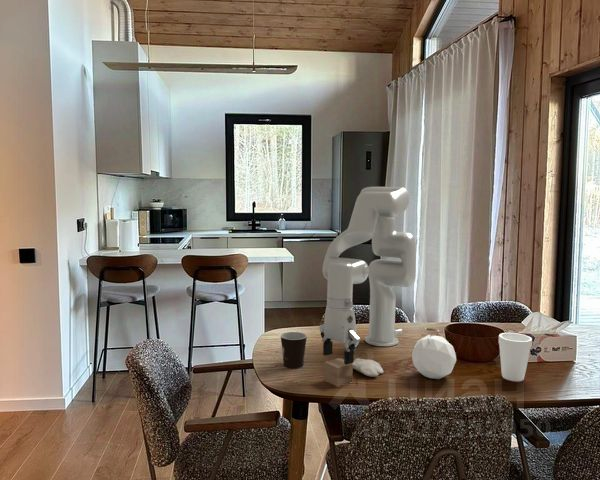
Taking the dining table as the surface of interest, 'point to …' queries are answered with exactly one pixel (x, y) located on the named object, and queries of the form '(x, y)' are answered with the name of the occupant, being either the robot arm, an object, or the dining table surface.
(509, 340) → the foam cup
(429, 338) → the geodesic sphere
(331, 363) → the walnut block
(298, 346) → the coffee mug
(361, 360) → the decorative stone
